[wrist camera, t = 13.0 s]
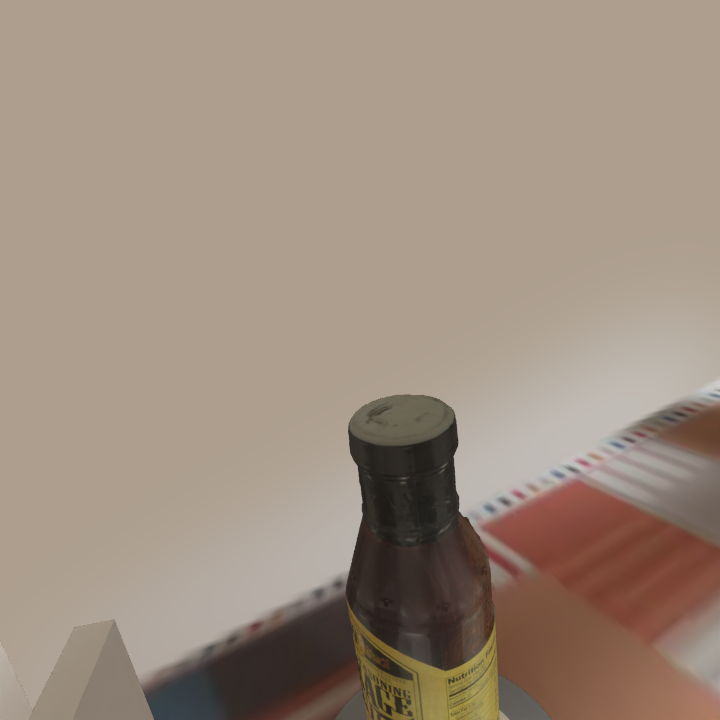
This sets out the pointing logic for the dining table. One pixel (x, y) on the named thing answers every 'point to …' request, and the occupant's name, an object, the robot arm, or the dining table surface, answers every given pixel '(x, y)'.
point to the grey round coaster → (515, 705)
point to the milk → (11, 692)
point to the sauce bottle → (418, 571)
